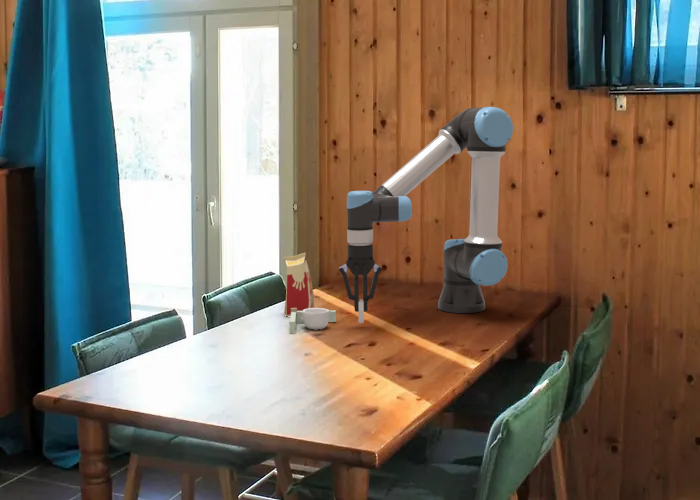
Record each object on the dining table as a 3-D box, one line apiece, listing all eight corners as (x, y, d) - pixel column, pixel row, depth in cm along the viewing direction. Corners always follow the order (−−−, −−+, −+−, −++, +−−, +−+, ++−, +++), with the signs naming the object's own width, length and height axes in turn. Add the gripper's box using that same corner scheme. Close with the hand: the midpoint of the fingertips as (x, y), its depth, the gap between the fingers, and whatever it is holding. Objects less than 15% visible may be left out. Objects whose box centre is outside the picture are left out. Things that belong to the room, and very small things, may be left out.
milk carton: (314, 311, 289) (313, 250, 286) (310, 317, 280) (309, 254, 277) (286, 311, 290) (285, 250, 287) (281, 317, 280) (280, 254, 278)
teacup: (334, 327, 266) (334, 309, 266) (318, 332, 260) (318, 314, 259) (307, 323, 272) (307, 305, 271) (291, 328, 266) (291, 310, 265)
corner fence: (335, 321, 274) (335, 307, 274) (336, 333, 259) (336, 318, 259) (291, 321, 274) (290, 307, 273) (289, 333, 259) (289, 318, 258)
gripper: (381, 241, 267) (382, 318, 270) (337, 242, 266) (339, 319, 270) (383, 245, 259) (383, 324, 263) (338, 245, 259) (339, 325, 262)
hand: (361, 322), depth 266 cm, fingers closed
